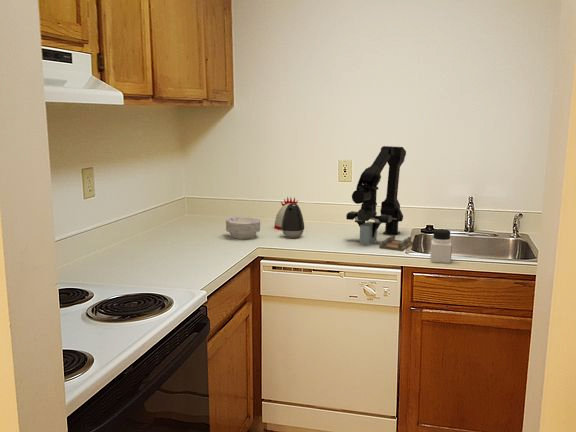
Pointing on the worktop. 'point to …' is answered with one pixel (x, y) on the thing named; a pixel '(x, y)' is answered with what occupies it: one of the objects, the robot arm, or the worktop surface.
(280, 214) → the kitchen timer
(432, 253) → the medicine bottle
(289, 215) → the black grey egg shape
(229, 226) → the grey stone bowl
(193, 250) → the worktop surface
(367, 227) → the blue grey block
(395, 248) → the track board
